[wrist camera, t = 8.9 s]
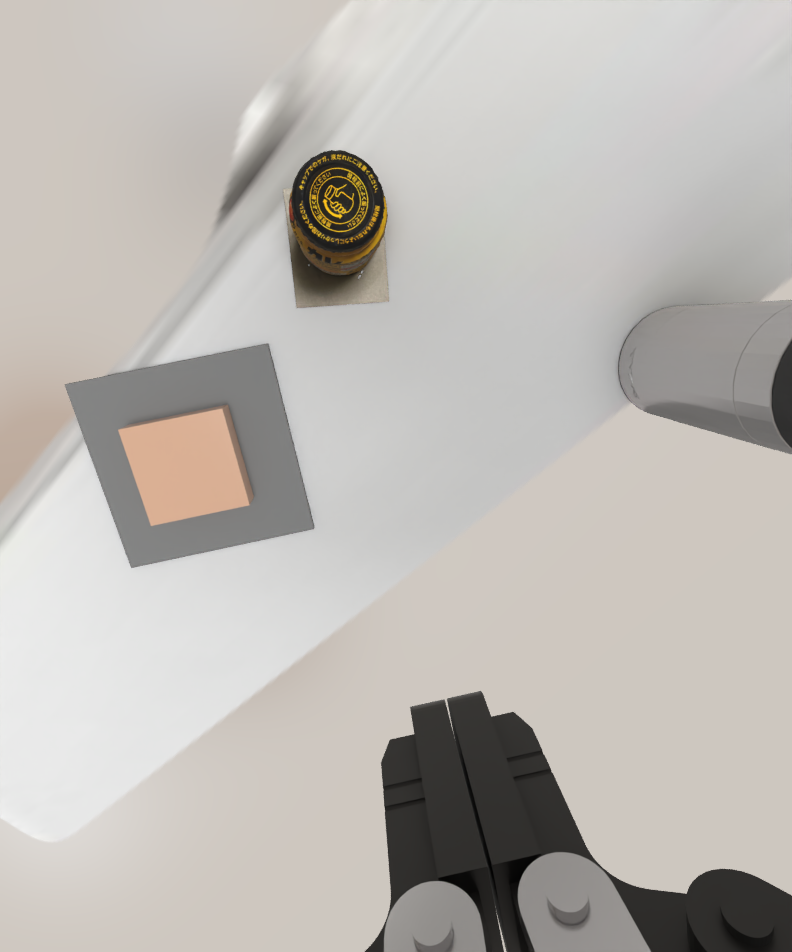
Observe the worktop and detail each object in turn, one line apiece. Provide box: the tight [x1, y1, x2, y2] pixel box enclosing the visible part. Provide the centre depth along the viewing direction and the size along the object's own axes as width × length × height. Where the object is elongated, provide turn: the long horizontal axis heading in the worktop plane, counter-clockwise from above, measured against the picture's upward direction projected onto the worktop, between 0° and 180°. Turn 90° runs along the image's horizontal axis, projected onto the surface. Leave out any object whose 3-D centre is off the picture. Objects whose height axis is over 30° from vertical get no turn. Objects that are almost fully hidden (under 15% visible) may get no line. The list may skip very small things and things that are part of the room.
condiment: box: [283, 150, 389, 308], centre depth 36 cm, size 7×8×12 cm
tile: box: [118, 405, 254, 526], centre depth 44 cm, size 2×8×8 cm
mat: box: [65, 344, 314, 568], centre depth 45 cm, size 16×16×1 cm
